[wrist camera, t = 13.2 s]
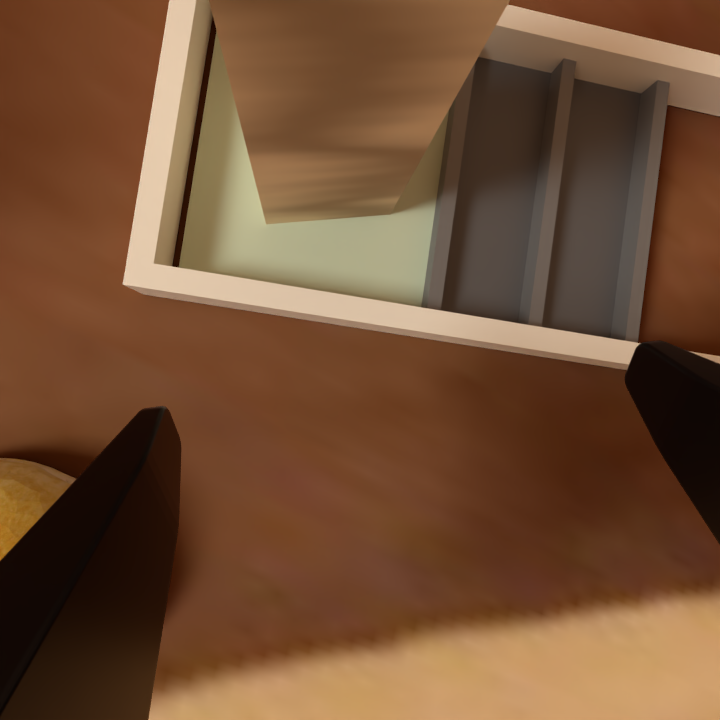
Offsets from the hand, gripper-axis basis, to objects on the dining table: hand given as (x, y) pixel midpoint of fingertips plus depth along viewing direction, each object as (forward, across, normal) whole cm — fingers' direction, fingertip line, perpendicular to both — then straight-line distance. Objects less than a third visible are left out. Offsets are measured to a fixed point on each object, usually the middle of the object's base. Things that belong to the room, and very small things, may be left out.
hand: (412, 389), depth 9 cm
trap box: (+10, -8, +1) cm, 13 cm away
